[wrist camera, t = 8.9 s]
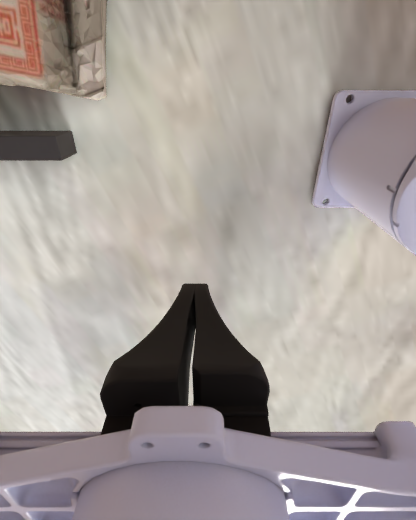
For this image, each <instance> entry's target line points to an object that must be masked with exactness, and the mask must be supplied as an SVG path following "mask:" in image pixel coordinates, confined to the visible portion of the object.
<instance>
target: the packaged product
mask: <svg viewBox="0 0 416 520" xmlns="http://www.w3.org/2000/svg"><path fill="white" fill-rule="evenodd" d="M106 8H107V0H0V84H1V85H7V86H17V85H20V86H25V87H31V88H36V89H42V90H47V91H53V92H58V93H63V94H68V95H73V96H78V97H83V98H88V99H93V100H98V101H99V100H101V99H104V98H106V47H105V44H106Z"/></svg>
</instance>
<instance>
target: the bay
mask: <svg viewBox="0 0 416 520" xmlns="http://www.w3.org/2000/svg"><path fill="white" fill-rule="evenodd" d="M76 153H77V152H76V147H75V143H74V139H73V135H72V131H0V160H63V159H66V158H68V157H70V156H72V155H74V154H76Z"/></svg>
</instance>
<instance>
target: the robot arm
mask: <svg viewBox="0 0 416 520" xmlns="http://www.w3.org/2000/svg"><path fill="white" fill-rule="evenodd" d="M348 95H351V96H352V99H351V101H350V102H349V103H347V102H346V98H347V96H348ZM324 199H327V202H326V203H323V200H324ZM312 204H313V205H314V206H315V207H318V208H356V209H358V210H359V211H360V212H361V213H363V214H364V215H365V216H366V217H368V218H369V219H370V220H371V221H373V222H374V223H375V224H376V225H378V226H379V227H380V228H381V229H383V230H384V231H385V232H386V233H388V234H389V235H390V236H391V237H393V238H394V239H395V240H396V241H398V242H399V243H400V244H401V245H403V246H404V247H406V248H407V249H408V250H409V251H410V252H411V253H413V254H414V255H415V256H416V90H341V91H338V92H337V93H336V94H335V95H334V97H333V101H332V105H331V110H330V115H329V120H328V125H327V129H326V134H325V139H324V144H323V149H322V154H321V158H320V163H319V168H318V173H317V178H316V182H315V187H314V192H313V197H312ZM195 328H196V334H195ZM194 334H195V346H194V356H193V365H192V373H193V396H194V401H193V406H188V393H189V372H190V361H191V354H192V348H193V341H194ZM269 392H270V389H269V382H268V379H267V377H266V374H265V372H264V369H263V367H262V365H261V363H260V361H258V360H257V359H256V358H255V357H254V356H252V355H251V354H250V353H249V352H248V351H247V350H246V349H245V348H244V347H243V346H242V345H241V344H240V343H239V341H238V340H237V339H236V338H235V337H234V336H233V335H232V333H231V332H230V331H229V329H228V328H227V326H226V325H225V323H224V322H223V320H222V319H221V317H220V315H219V313H218V311H217V310H216V307H215V305H214V303H213V301H212V298H211V296H210V293H209V289H208V285H207V284H183V285H182V288H181V290H180V292H179V294H178V296H177V298H176V300H175V301H174V303H173V305H172V306H171V308H170V309H169V311H168V312H167V313H166V315H165V316H164V318H163V319H162V320H161V321H160V323H159V324H158V325H157V326H156V327H155V328H154V329H153V330H152V331H151V332H150V333H149V334H148V335H147V336H146V337H145V338H144V339H143V340H142V341H141V342H140V343H139V344H137V345H136V346H135V347H134V348H133V349H131V350H130V351H129V352H127V353H126V354H124V355H123V356H121V357H120V358H118V359H117V360H115V361H114V362H113V364H112V366H111V368H110V370H109V372H108V374H107V376H106V378H105V381H104V384H103V387H102V390H101V393H100V397H101V401H102V404H103V407H104V410H105V412H106V415H107V416H106V419H105V422H104V426H103V429H102V432H0V520H416V427H415V425H414V424H413V422H410V421H386V422H382V423H379V424H378V425H377V427H376V429H375V431H374V432H270V427H269V421H268V408H267V401H268V397H269Z"/></svg>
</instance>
